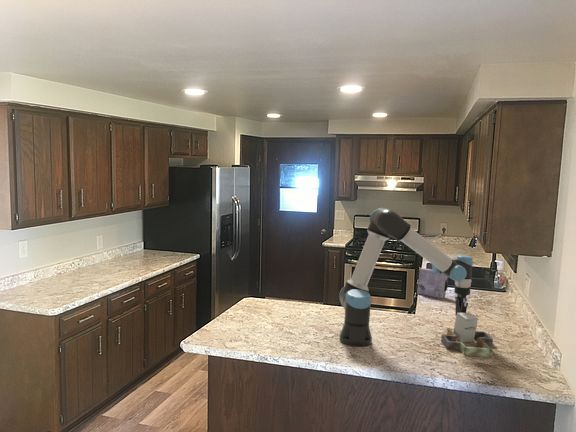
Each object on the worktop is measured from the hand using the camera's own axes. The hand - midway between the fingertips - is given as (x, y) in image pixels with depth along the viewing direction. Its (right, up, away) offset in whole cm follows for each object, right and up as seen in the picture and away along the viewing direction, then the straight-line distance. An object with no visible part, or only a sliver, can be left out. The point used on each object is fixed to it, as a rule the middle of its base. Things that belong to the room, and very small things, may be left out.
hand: (458, 331), depth 244 cm
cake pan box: (+10, +5, +79) cm, 80 cm away
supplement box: (-1, -2, -7) cm, 8 cm away
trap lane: (-1, -3, -15) cm, 15 cm away
